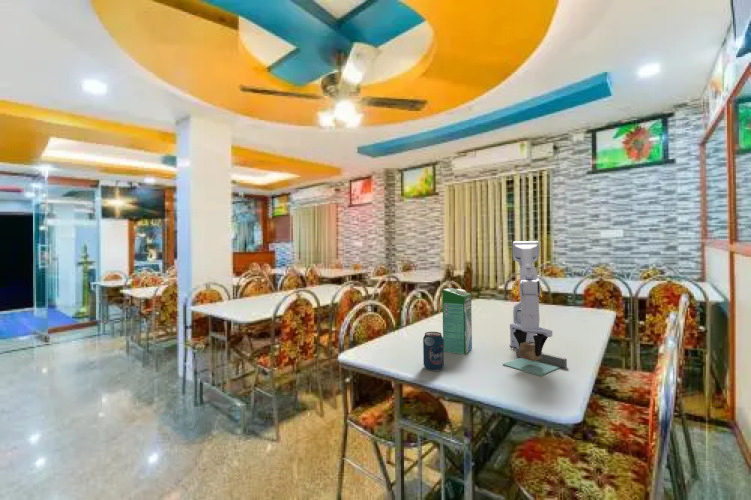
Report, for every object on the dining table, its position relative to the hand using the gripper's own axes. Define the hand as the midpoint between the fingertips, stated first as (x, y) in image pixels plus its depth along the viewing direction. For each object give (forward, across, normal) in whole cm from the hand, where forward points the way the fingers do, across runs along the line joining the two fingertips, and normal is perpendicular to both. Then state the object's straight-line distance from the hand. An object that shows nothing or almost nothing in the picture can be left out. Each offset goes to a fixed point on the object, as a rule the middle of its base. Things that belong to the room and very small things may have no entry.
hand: (530, 353), depth 122 cm
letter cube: (+2, 0, 0) cm, 2 cm away
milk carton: (+5, -29, -4) cm, 30 cm away
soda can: (+5, -20, -27) cm, 34 cm away
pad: (+4, 0, 0) cm, 4 cm away
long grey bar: (+4, -1, +8) cm, 9 cm away
